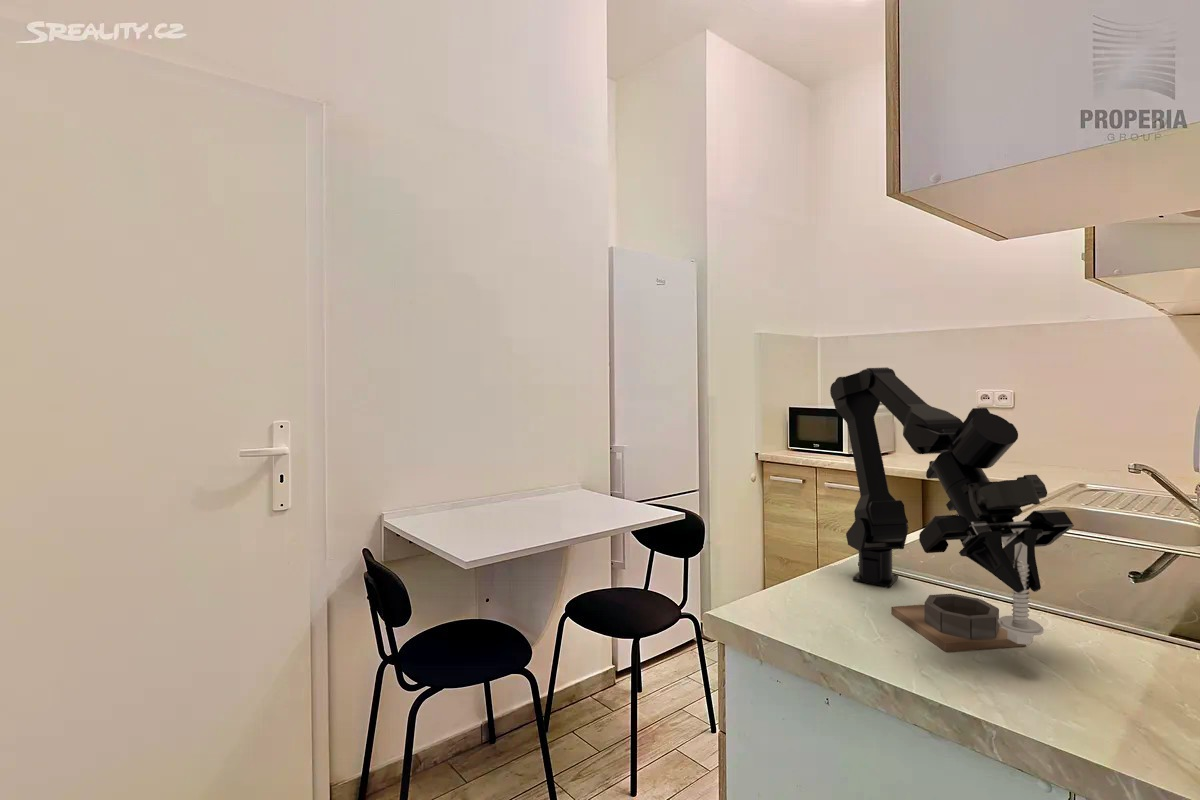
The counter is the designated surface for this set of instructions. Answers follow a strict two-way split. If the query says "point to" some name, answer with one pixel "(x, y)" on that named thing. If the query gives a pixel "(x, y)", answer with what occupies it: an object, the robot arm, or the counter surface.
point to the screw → (1021, 605)
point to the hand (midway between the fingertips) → (1029, 590)
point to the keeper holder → (956, 622)
